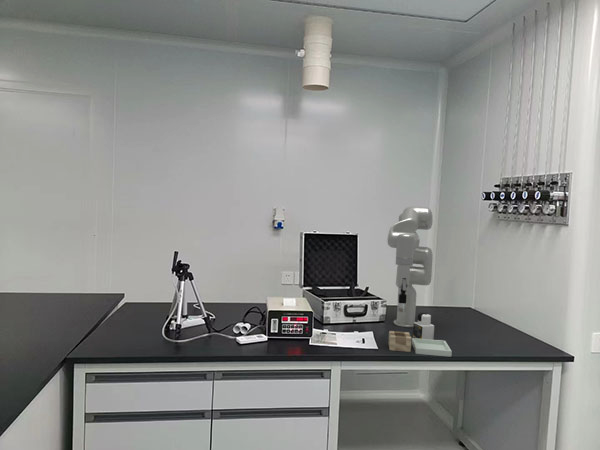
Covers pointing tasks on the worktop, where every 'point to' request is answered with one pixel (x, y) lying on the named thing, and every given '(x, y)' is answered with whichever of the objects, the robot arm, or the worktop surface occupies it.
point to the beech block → (399, 341)
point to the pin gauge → (401, 304)
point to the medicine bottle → (423, 327)
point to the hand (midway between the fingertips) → (401, 301)
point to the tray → (431, 347)
